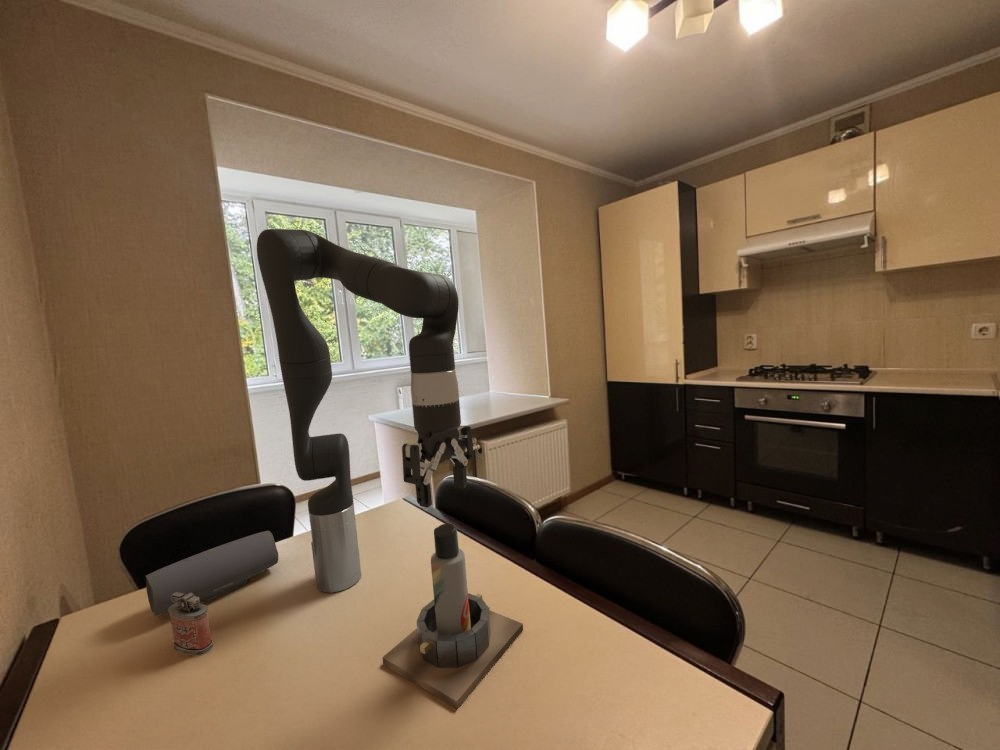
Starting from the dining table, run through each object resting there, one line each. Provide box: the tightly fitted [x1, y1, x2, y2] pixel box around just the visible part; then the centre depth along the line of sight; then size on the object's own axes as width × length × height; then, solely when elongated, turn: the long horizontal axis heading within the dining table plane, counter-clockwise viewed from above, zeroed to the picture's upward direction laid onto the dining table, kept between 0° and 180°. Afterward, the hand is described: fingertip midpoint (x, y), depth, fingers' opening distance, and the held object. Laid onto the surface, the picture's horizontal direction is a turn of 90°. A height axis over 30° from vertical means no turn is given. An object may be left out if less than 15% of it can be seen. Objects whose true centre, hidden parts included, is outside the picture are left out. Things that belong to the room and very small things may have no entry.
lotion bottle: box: [430, 523, 471, 636], centre depth 69 cm, size 6×6×20 cm
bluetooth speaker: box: [145, 530, 279, 617], centre depth 91 cm, size 23×9×10 cm, turn 139°
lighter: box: [167, 592, 214, 656], centre depth 74 cm, size 8×3×10 cm, turn 71°
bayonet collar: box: [416, 593, 491, 668], centre depth 70 cm, size 12×15×4 cm
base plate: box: [382, 605, 524, 710], centre depth 71 cm, size 16×19×1 cm
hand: (444, 496), depth 68 cm, fingers open, 8 cm apart
